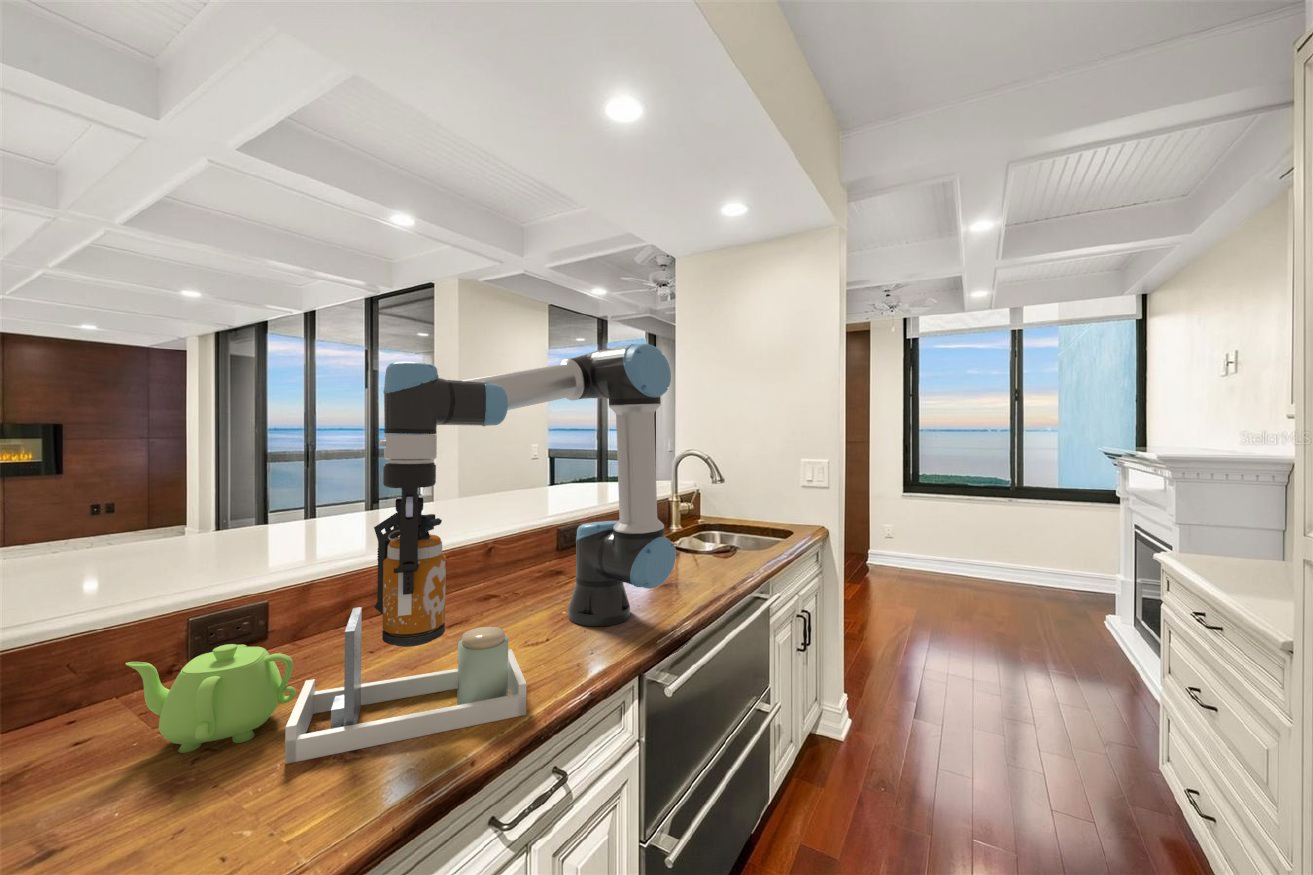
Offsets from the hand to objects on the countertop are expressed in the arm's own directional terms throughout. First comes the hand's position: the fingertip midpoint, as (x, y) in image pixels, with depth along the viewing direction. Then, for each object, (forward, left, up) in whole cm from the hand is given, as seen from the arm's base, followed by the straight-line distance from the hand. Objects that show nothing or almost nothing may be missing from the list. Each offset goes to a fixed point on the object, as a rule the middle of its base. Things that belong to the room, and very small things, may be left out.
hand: (408, 605), depth 83 cm
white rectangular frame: (-1, 0, -17) cm, 18 cm away
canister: (0, 0, -6) cm, 6 cm away
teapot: (+26, -6, -18) cm, 32 cm away
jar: (-12, 0, -18) cm, 21 cm away
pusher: (+8, 0, -17) cm, 19 cm away
